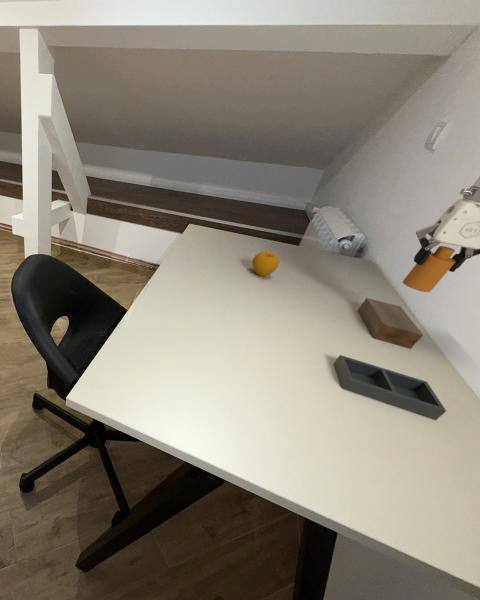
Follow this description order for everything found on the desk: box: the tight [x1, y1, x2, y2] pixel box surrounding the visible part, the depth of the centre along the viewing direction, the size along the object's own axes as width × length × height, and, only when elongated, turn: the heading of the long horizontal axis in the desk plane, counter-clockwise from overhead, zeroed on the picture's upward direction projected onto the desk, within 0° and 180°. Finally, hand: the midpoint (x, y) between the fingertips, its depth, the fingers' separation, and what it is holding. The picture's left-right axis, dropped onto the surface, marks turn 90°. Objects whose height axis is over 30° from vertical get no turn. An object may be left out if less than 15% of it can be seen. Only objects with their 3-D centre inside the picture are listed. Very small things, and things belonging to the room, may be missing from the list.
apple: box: [251, 251, 280, 278], centre depth 115 cm, size 9×8×9 cm
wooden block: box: [357, 297, 424, 349], centre depth 93 cm, size 9×16×5 cm, turn 156°
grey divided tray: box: [333, 354, 447, 421], centre depth 71 cm, size 9×17×4 cm, turn 66°
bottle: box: [402, 245, 456, 293], centre depth 83 cm, size 6×6×12 cm
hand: (433, 265), depth 82 cm, fingers closed on bottle, 6 cm apart
